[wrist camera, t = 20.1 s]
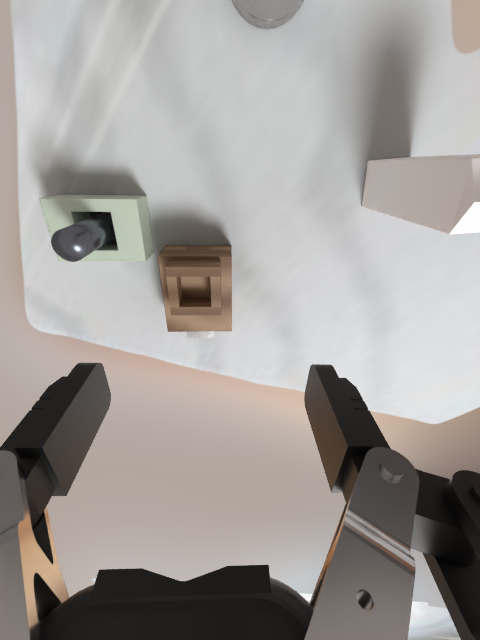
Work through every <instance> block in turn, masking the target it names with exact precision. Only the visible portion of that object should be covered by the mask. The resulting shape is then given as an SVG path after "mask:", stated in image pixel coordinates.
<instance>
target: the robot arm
mask: <svg viewBox="0 0 480 640" xmlns="http://www.w3.org/2000/svg"><path fill="white" fill-rule="evenodd" d="M303 1H304V0H232V2H233V4H234V6H235V8H236V9H237V11H238V12H239V13H240V15H241V16H242V17H243V18H244V19H245V20H247V21H248V22H249V23H250V24H252V25H254V26H256V27H260V28H265V29H267V28H275V27H277V26H280V25H282V24H284V23H285V22H287V21H288V20H289V19H291V18H292V16H293V15H294V14H295V13H296V12H297V11H298V9H299V8H300V6H301V4H302V2H303ZM110 400H111V393H110V389H109V385H108V382H107V378H106V375H105V371H104V367H103V365H102V364H101V363H78V364H77V365H76V366H75V367H74V369H73V370H72V371H71V373H70V374H69V375H68V377H61V378H60V379H59V380H57V381H56V382H54V383H53V384H52V385H50V386H49V387H48V388H47V389H46V391H45V392H44V393H43V394H42V396H41V397H40V400H39V401H37V402H36V403H35V404H34V406H33V407H32V410H31V411H29V412H28V413H27V414H26V416H25V417H24V418H23V420H22V421H21V422H20V423H19V425H18V426H17V427H16V428H15V430H14V431H13V432H12V433H11V435H10V436H9V437H8V438H7V440H6V441H5V442H4V443H3V445H2V446H1V447H0V640H407V639H408V631H409V622H410V614H411V605H412V597H413V588H414V580H415V560H414V558H413V557H411V555H410V548H412V549H415V550H418V551H420V552H422V553H423V555H424V557H425V559H426V561H427V564H428V566H429V568H430V571H431V573H432V575H433V577H434V580H435V582H436V584H437V586H438V589H439V591H440V593H441V595H442V598H443V600H444V602H445V604H446V607H447V609H448V611H449V613H450V616H451V618H452V620H453V622H454V625H455V627H456V629H457V631H458V634H459V636H460V638H461V640H480V474H479V473H476V472H473V471H467V470H462V471H458V472H456V473H455V474H454V475H453V476H452V478H451V479H447V478H443V477H440V476H437V475H433V474H429V473H426V472H423V471H420V470H417V469H415V468H414V466H413V465H412V464H411V462H410V461H409V460H408V459H407V458H405V457H404V456H403V455H401V454H400V453H398V452H396V451H394V450H392V449H391V448H390V447H389V445H388V443H387V442H386V440H385V438H384V436H383V434H382V433H381V431H380V429H379V427H378V425H377V424H376V422H375V420H374V418H373V416H372V415H371V413H370V411H368V408H367V406H366V404H365V402H364V401H363V399H362V397H361V395H360V393H359V391H358V390H357V388H356V387H355V386H354V385H353V384H352V383H351V382H350V381H348V380H347V379H346V378H339V377H338V375H337V373H336V371H335V369H334V367H333V366H332V365H311V367H310V370H309V375H308V380H307V385H306V390H305V408H306V411H307V415H308V418H309V421H310V424H311V428H312V431H313V434H314V437H315V441H316V444H317V447H318V450H319V454H320V457H321V460H322V463H323V467H324V470H325V473H326V476H327V480H328V483H329V486H330V489H331V492H332V493H334V492H335V493H337V492H343V495H344V498H345V501H346V504H345V506H344V509H343V512H342V515H341V518H340V520H339V524H338V526H337V529H336V532H335V535H334V537H333V540H332V543H331V546H330V549H329V552H328V554H327V557H326V560H325V563H324V566H323V568H322V571H321V573H320V576H319V579H318V582H317V584H316V587H315V590H314V593H313V595H312V598H311V601H310V604H309V603H308V602H307V601H306V600H305V599H304V598H303V597H302V596H301V595H300V594H299V593H297V592H296V591H295V590H293V589H292V588H290V587H289V586H287V585H286V584H284V583H282V582H280V581H278V580H275V579H273V578H270V576H269V565H249V566H227V567H224V568H221V569H219V570H216V571H213V572H210V573H208V574H205V575H203V576H200V577H197V578H194V579H191V580H189V581H178V580H175V579H172V578H169V577H166V576H163V575H160V574H157V573H154V572H151V571H148V570H144V569H108V570H99V572H98V575H97V578H96V582H95V585H92V586H89V587H87V588H85V589H83V590H81V591H79V592H77V593H76V594H74V595H73V596H71V597H70V598H69V595H68V592H67V589H66V585H65V583H64V580H63V578H62V575H61V572H60V569H59V565H58V560H57V555H56V550H55V545H54V540H53V535H52V530H51V525H50V520H49V515H48V511H47V508H46V506H47V504H48V502H49V500H50V498H51V496H66V495H67V493H68V491H69V489H70V487H71V485H72V483H73V481H74V479H75V477H76V475H77V473H78V471H79V469H80V467H81V464H82V462H83V460H84V458H85V456H86V454H87V452H88V450H89V448H90V446H91V444H92V442H93V440H94V438H95V436H96V433H97V432H98V429H99V427H100V425H101V423H102V421H103V419H104V417H105V415H106V413H107V411H108V409H109V406H110Z"/></svg>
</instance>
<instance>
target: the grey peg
mask: <svg viewBox="0 0 480 640" xmlns="http://www.w3.org/2000/svg"><path fill="white" fill-rule="evenodd" d="M115 237H116V236H115V231H114V226H113V221H112V216H111V213H109V212H104V213H101V214H99V215H96V216H93V217H91V218H88V219H86V220H83V221H81V222H78V223H75V224H73V225H70V226H68V227H65V228H62V229H60V230H57V231H56V232H55V233H54V234H53V235H52V239H51V243H52V247H53V249H54V251H55V252H56V253H57V254H58V255H59V256H60V257H61V258H63V259H65V260H67V261H71V262H75V261H79V260H81V259H83V258H84V257H86V256H87V255H89V254H90V253H92V252H93V251H95V250H96V249H98V248H100V247H101V246H103V245H104V244H106V243H107V242H109V241H110V240H112V239H114V238H115Z"/></svg>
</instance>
